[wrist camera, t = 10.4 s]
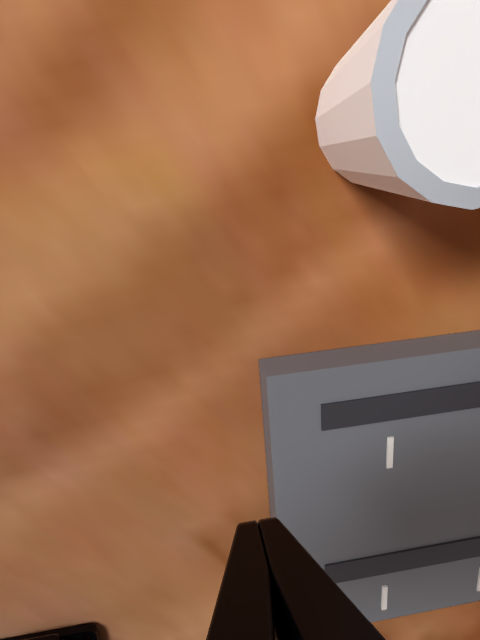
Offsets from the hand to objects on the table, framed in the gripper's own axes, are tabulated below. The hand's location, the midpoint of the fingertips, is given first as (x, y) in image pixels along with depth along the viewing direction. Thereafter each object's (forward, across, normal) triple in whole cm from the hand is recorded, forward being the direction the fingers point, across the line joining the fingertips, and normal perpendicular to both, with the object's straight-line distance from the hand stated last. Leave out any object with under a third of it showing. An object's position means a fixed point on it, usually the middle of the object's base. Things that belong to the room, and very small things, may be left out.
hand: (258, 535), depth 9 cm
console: (+12, -14, +10) cm, 21 cm away
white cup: (+12, -8, -9) cm, 17 cm away
